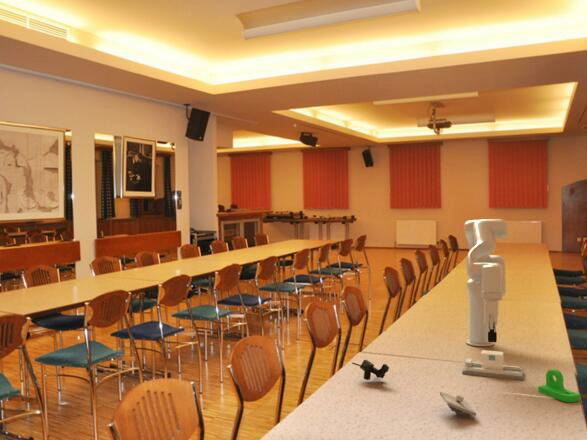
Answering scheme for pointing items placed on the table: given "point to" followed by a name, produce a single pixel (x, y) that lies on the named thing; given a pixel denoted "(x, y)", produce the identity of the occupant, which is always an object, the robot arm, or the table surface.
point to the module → (492, 360)
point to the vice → (372, 369)
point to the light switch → (457, 404)
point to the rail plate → (492, 371)
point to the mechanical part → (557, 388)
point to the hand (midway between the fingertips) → (492, 341)
